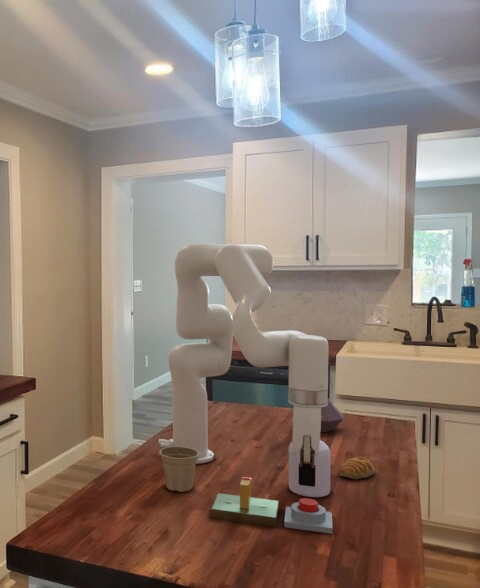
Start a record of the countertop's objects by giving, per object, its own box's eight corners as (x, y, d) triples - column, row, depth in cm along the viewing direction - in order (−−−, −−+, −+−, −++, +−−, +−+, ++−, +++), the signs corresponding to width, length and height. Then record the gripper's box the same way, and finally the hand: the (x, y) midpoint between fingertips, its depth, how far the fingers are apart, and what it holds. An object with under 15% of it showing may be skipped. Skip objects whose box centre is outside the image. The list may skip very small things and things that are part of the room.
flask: (303, 418, 199) (303, 361, 198) (353, 427, 188) (353, 366, 187) (282, 428, 187) (281, 367, 186) (333, 438, 176) (333, 373, 175)
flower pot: (175, 477, 145) (175, 443, 145) (207, 487, 138) (206, 451, 138) (151, 487, 139) (151, 452, 138) (183, 498, 132) (183, 461, 131)
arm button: (298, 512, 117) (298, 503, 117) (299, 505, 121) (299, 497, 121) (317, 514, 116) (317, 506, 116) (317, 507, 119) (317, 499, 119)
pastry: (358, 483, 139) (358, 467, 139) (331, 475, 145) (331, 460, 144) (376, 474, 145) (376, 459, 145) (350, 467, 150) (350, 452, 150)
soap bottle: (311, 501, 129) (311, 392, 128) (280, 487, 137) (280, 385, 136) (338, 493, 133) (339, 387, 132) (307, 480, 141) (307, 381, 140)
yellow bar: (248, 509, 121) (248, 484, 120) (239, 507, 121) (239, 483, 121) (251, 500, 125) (250, 477, 125) (242, 499, 125) (242, 476, 125)
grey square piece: (284, 527, 116) (284, 512, 116) (286, 511, 124) (286, 497, 124) (332, 534, 113) (332, 519, 113) (331, 517, 121) (331, 503, 120)
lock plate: (211, 518, 121) (211, 507, 121) (218, 501, 130) (217, 492, 130) (276, 527, 117) (276, 516, 116) (278, 509, 125) (278, 499, 125)
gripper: (289, 387, 126) (289, 469, 127) (286, 403, 112) (285, 495, 113) (327, 389, 123) (326, 474, 124) (328, 406, 109) (327, 501, 110)
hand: (306, 484), depth 119 cm, fingers closed
